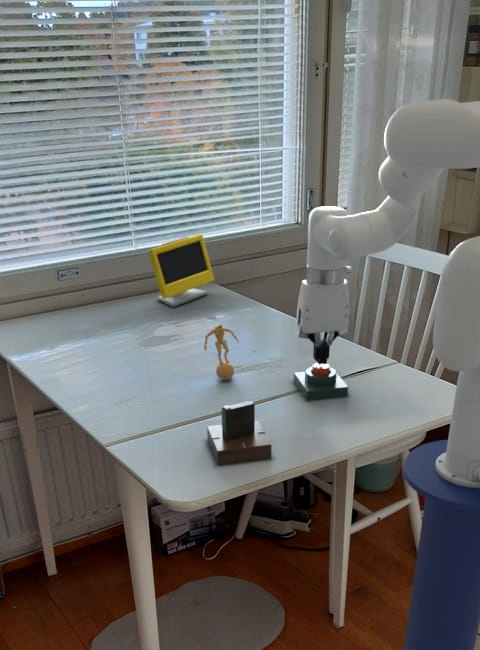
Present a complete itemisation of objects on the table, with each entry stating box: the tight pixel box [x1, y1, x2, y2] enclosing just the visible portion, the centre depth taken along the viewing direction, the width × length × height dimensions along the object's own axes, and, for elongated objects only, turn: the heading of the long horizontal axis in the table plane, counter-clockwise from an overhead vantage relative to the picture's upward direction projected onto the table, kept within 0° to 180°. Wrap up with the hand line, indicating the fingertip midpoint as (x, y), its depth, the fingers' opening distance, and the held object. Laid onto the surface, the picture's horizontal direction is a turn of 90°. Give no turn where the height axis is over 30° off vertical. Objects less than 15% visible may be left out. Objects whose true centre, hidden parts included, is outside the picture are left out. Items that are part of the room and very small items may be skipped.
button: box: [312, 362, 331, 376], centre depth 166 cm, size 4×4×2 cm
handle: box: [221, 400, 256, 440], centre depth 143 cm, size 6×2×6 cm, turn 118°
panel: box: [206, 420, 272, 466], centre depth 146 cm, size 10×10×3 cm
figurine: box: [203, 324, 240, 381], centre depth 171 cm, size 8×6×12 cm
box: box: [293, 365, 349, 402], centre depth 167 cm, size 10×9×4 cm
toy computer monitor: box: [148, 233, 215, 308], centre depth 215 cm, size 20×8×16 cm, turn 140°
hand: (320, 361), depth 165 cm, fingers closed
